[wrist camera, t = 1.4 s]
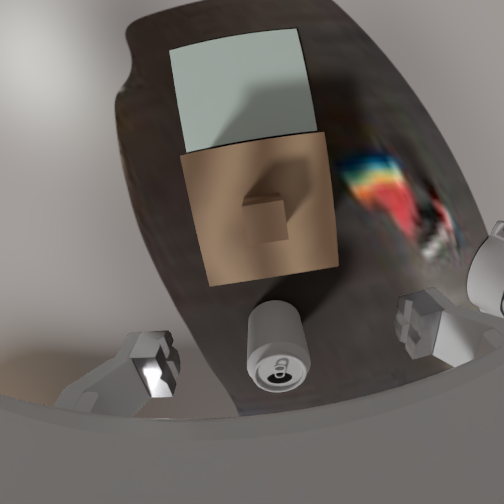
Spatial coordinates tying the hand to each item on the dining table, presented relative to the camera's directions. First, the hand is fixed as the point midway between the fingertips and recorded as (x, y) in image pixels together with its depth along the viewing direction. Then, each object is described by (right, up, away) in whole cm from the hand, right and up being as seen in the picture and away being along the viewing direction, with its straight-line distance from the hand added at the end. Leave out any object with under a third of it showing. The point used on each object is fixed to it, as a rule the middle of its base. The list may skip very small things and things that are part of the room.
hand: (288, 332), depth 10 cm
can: (+2, -7, +33) cm, 33 cm away
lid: (0, +7, +18) cm, 19 cm away
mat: (-2, +23, +22) cm, 32 cm away
